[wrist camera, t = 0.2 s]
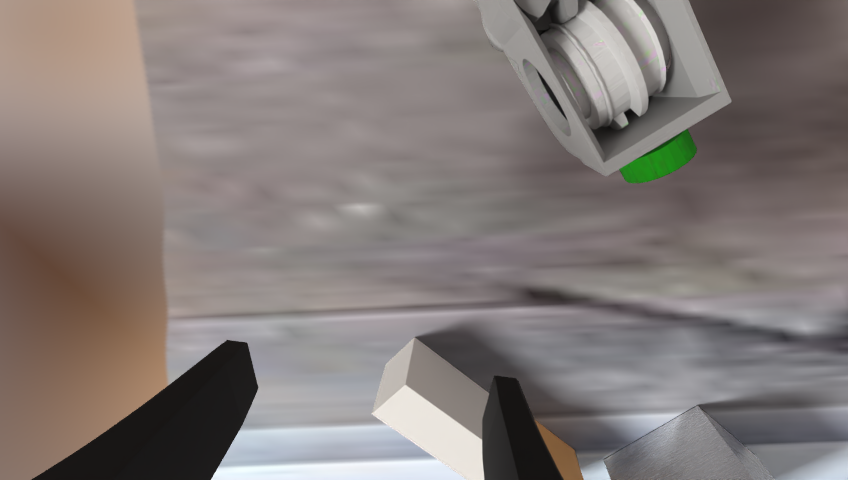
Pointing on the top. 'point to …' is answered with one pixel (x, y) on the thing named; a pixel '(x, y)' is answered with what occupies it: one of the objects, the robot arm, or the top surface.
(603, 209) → the top surface
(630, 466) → the grey long block
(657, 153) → the mechanical component
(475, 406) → the plug
